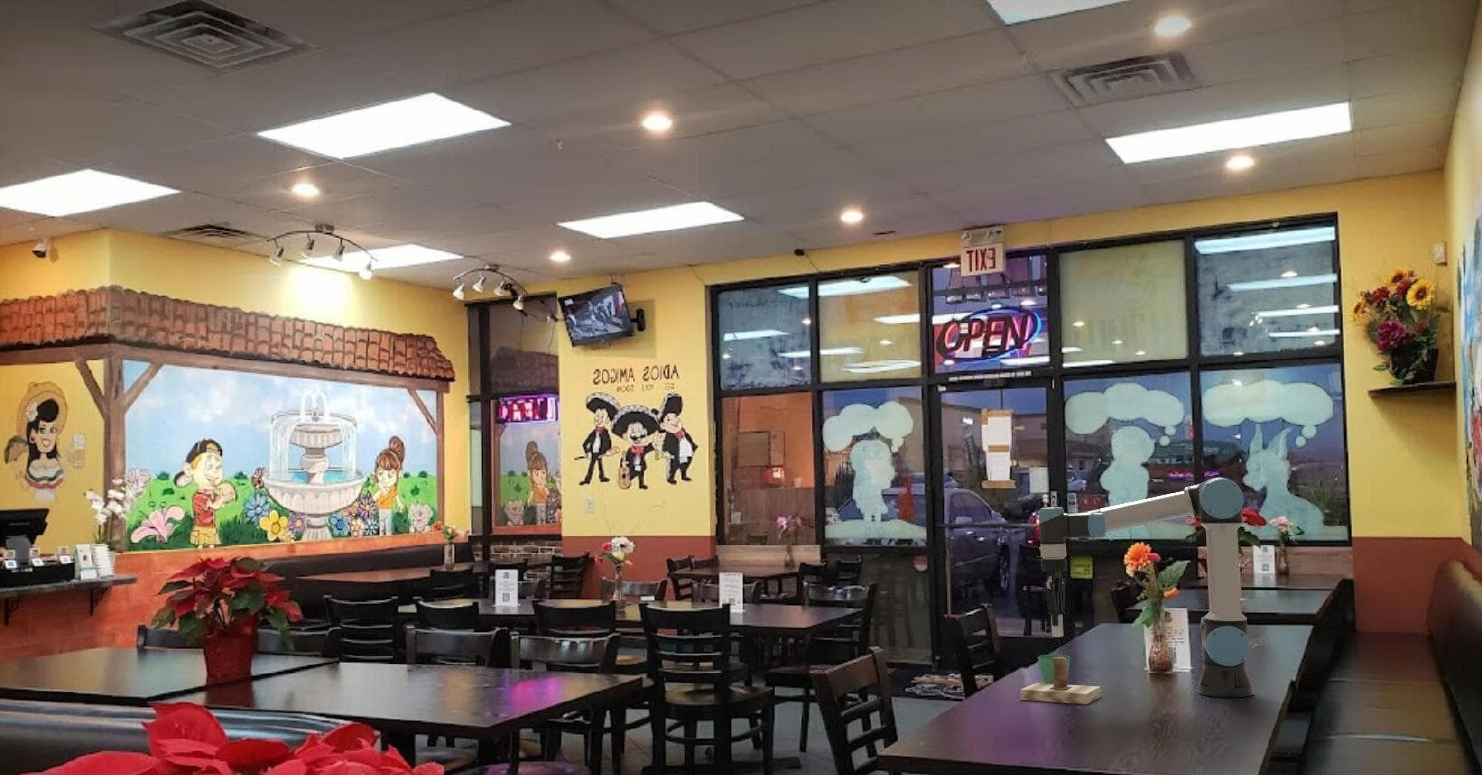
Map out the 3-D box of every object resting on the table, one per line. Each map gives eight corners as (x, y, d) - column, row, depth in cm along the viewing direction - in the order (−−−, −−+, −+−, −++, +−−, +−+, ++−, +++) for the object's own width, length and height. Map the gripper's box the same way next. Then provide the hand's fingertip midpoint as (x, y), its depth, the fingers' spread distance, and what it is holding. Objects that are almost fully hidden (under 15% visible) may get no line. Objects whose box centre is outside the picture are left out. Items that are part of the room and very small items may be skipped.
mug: (1066, 692, 372) (1065, 659, 373) (1035, 690, 377) (1034, 658, 378) (1079, 684, 385) (1077, 653, 386) (1049, 683, 390) (1047, 652, 391)
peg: (1070, 697, 363) (1067, 657, 364) (1065, 699, 359) (1063, 659, 360) (1056, 696, 365) (1054, 656, 366) (1052, 698, 361) (1050, 658, 363)
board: (1101, 696, 362) (1100, 686, 363) (1087, 704, 351) (1086, 693, 351) (1036, 692, 373) (1036, 682, 374) (1021, 699, 362) (1020, 689, 362)
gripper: (1049, 556, 374) (1053, 633, 372) (1033, 559, 362) (1038, 638, 360) (1072, 556, 370) (1077, 634, 367) (1058, 559, 358) (1062, 639, 356)
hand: (1057, 636), depth 364 cm, fingers closed
